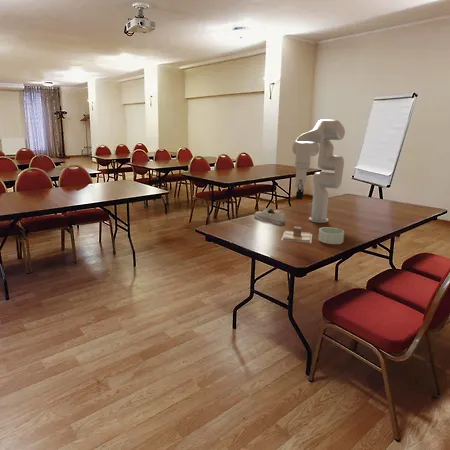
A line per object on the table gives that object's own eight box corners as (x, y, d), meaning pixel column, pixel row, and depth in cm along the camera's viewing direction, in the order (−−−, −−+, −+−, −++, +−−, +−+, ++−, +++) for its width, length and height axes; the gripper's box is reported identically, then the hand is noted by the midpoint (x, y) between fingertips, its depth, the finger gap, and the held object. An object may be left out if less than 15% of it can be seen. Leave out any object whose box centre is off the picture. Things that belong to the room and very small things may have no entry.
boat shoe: (251, 217, 248) (252, 204, 245) (261, 215, 253) (262, 203, 250) (277, 226, 229) (278, 212, 226) (287, 224, 234) (288, 210, 231)
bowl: (318, 236, 208) (319, 226, 207) (342, 238, 205) (343, 228, 204) (318, 243, 196) (318, 232, 195) (343, 246, 193) (344, 235, 192)
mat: (283, 232, 215) (284, 231, 214) (312, 235, 211) (312, 234, 211) (280, 241, 200) (281, 240, 199) (311, 243, 196) (311, 242, 196)
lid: (285, 232, 213) (286, 223, 212) (310, 234, 210) (311, 225, 208) (283, 239, 200) (283, 230, 199) (309, 242, 197) (310, 232, 195)
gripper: (296, 164, 205) (293, 194, 209) (293, 167, 189) (291, 200, 193) (310, 165, 203) (307, 195, 208) (308, 167, 187) (305, 201, 191)
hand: (299, 197), depth 200 cm, fingers open, 9 cm apart
